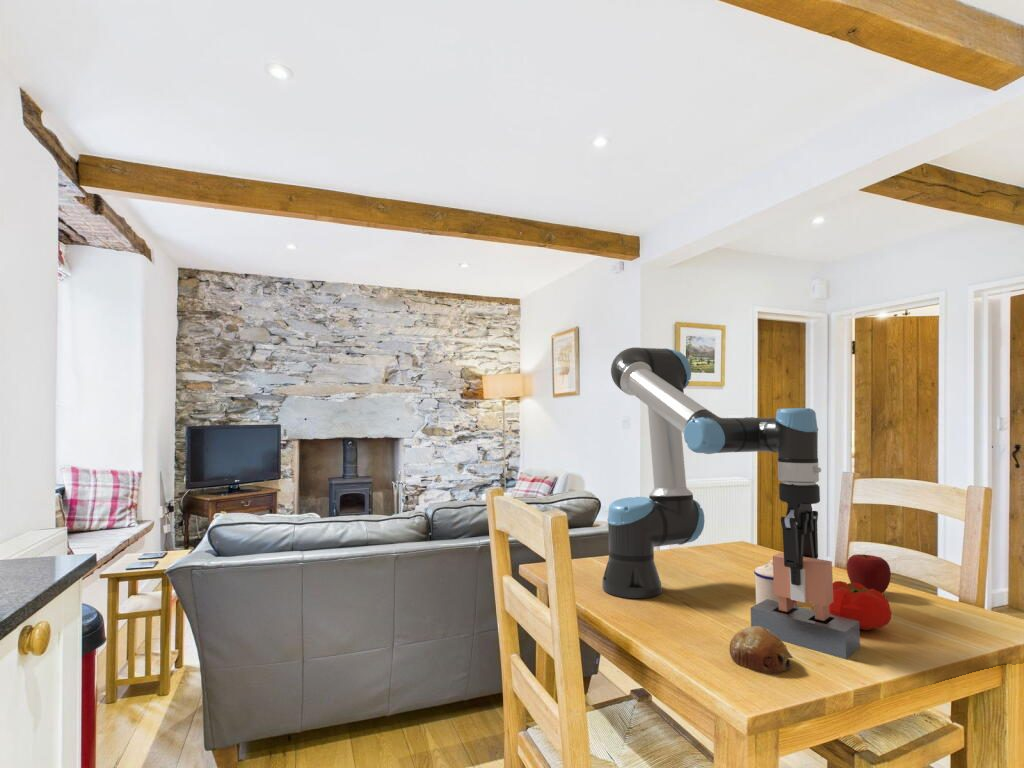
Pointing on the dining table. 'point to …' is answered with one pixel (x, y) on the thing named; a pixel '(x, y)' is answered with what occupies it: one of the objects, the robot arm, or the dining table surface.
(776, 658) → the bread roll
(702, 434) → the robot arm
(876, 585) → the apple
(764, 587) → the teacup with lid
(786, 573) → the chamfered pink post
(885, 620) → the tomato
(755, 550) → the dining table surface
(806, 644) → the grey rectangular block
